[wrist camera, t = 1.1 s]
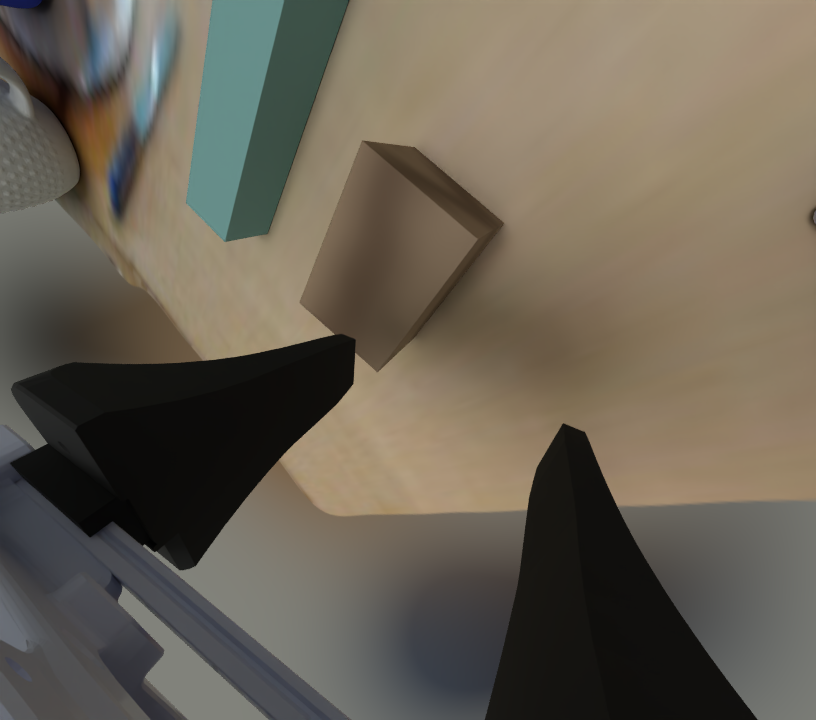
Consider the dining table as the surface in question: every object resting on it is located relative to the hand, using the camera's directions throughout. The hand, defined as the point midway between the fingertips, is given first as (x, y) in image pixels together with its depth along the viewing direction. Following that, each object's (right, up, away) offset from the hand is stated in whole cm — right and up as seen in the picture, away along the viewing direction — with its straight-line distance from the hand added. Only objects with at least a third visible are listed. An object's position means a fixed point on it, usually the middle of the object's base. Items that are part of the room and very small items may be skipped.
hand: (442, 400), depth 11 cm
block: (-1, +8, +8) cm, 11 cm away
